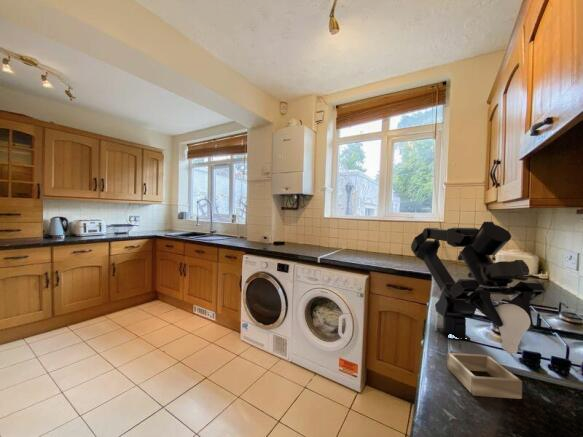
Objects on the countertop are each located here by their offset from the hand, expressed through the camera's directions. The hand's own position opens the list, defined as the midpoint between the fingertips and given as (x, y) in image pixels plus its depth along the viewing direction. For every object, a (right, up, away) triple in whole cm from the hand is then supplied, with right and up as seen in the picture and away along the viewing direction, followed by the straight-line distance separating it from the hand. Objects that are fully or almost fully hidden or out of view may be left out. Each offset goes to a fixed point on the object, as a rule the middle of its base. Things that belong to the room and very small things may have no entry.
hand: (516, 326), depth 53 cm
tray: (-7, -12, 0) cm, 14 cm away
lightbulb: (0, -7, +1) cm, 7 cm away
